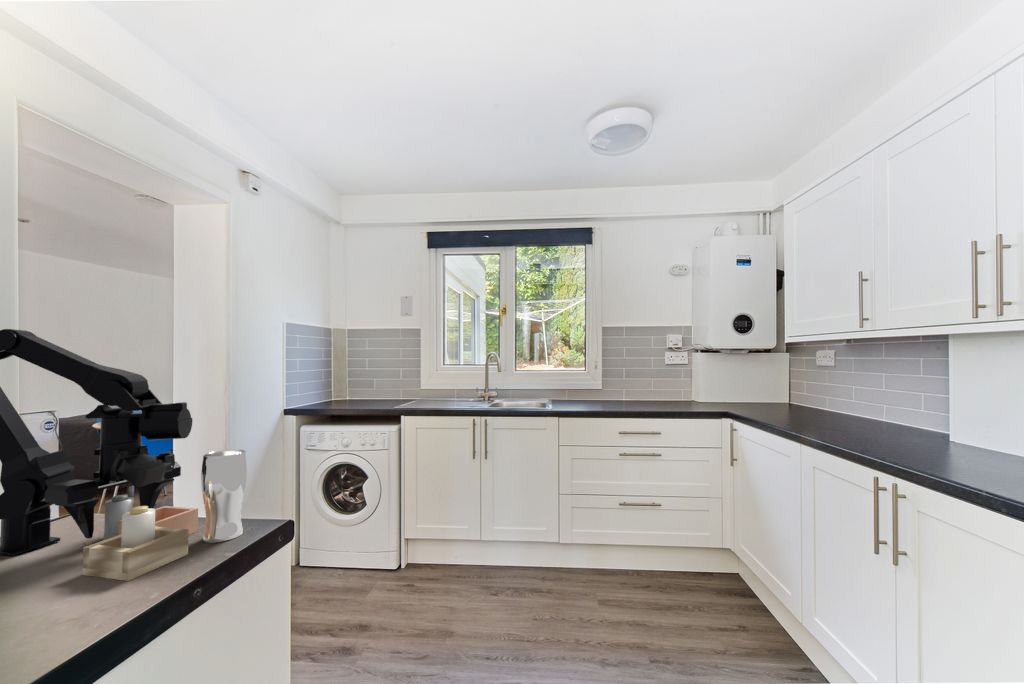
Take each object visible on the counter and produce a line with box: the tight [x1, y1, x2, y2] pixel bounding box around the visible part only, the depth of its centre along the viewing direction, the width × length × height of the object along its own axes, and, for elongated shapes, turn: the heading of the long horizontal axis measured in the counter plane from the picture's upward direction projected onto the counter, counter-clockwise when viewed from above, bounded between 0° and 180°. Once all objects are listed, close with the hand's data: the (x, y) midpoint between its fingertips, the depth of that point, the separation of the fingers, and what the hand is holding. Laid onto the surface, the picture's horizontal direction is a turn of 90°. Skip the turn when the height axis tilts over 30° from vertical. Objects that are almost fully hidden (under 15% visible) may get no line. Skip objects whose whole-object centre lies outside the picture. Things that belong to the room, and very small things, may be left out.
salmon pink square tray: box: [118, 505, 199, 535], centre depth 79 cm, size 8×8×4 cm
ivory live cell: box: [121, 505, 156, 548], centre depth 68 cm, size 4×4×8 cm
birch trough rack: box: [82, 526, 190, 582], centre depth 68 cm, size 9×9×4 cm
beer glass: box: [200, 449, 248, 544], centre depth 79 cm, size 7×7×15 cm
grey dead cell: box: [103, 493, 135, 541], centre depth 79 cm, size 4×4×8 cm
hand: (118, 528), depth 79 cm, fingers open, 9 cm apart
